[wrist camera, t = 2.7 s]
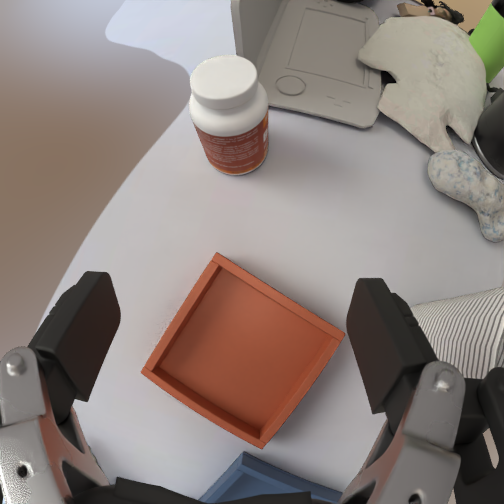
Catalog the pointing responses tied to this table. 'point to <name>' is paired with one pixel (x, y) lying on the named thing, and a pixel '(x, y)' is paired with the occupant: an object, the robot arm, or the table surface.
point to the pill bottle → (230, 113)
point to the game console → (311, 56)
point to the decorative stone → (470, 188)
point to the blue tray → (261, 482)
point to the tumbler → (490, 39)
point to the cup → (466, 330)
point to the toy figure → (430, 11)
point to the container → (350, 1)
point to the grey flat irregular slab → (428, 78)
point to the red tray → (241, 352)
